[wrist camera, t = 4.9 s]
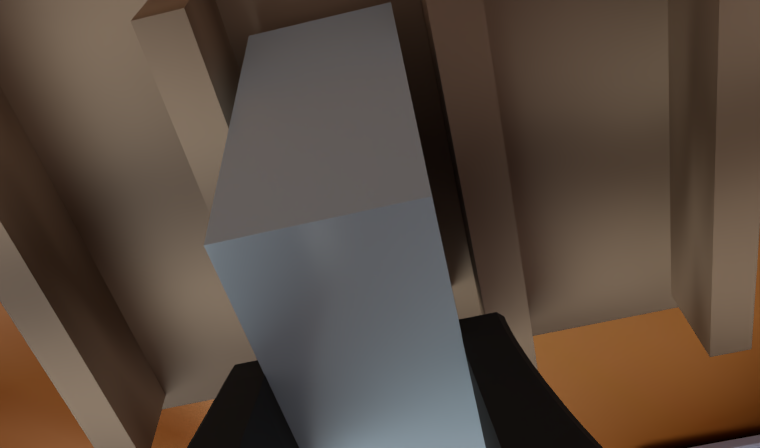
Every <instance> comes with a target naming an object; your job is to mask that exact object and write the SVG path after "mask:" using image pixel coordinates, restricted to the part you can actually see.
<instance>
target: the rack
mask: <svg viewBox="0 0 760 448" xmlns="http://www.w3.org/2000/svg"><path fill="white" fill-rule="evenodd" d="M389 2H391V5H392V10H393V14H394V19H395V24H396V28H397V33H398V38H399V42H400V47H401V52H402V56H403V61H404V66H405V70H406V75H407V80H408V84H409V89H410V94H411V98H412V103H413V108H414V112H415V117H416V121H417V126H418V131H419V135H420V140H421V145H422V149H423V154H424V159H425V163H426V168H427V173H428V177H429V182H430V187H431V191H432V196H433V201H434V205H435V210H436V215H437V219H438V224H439V229H440V233H441V238H442V243H443V247H444V252H445V256H446V261H447V266H448V270H449V275H450V280H451V284H452V289H453V294H454V298H455V303H456V308H457V313H458V317H459V319H464V318H469V317H474V316H479V315H484V314H489V313H493V312H497V313H499V314H501V315H503V316H504V317H505V319H506V321H507V324H508V326H509V327H510V329H511V331H512V333H513V335H514V336H515V338H516V340H517V341H518V343H519V344H520V346H521V348H522V349H523V351H524V352H525V354H526V355H527V356H528V358H529V359H530V361H531V362H532V364H533V365H534V366H535V368H536V369H537V363H536V356H535V349H534V342H533V336H535V335H540V334H545V333H550V332H555V331H560V330H565V329H570V328H575V327H580V326H585V325H590V324H595V323H600V322H606V321H611V320H616V319H621V318H626V317H631V316H636V315H641V314H646V313H651V312H656V311H661V310H666V309H671V308H676V307H679V308H680V310H681V311H682V313H683V314H684V316H685V318H686V319H687V321H688V322H689V324H690V326H691V327H692V329H693V330H694V332H695V334H696V335H697V337H698V338H699V340H700V342H701V343H702V345H703V346H704V348H705V350H706V351H707V353H708V354H709V356H710V357H712V356H718V355H723V354H728V353H733V352H738V351H744V350H749V349H751V347H752V332H753V317H754V302H755V287H756V273H757V258H758V243H759V228H760V0H0V302H1V303H2V305H3V307H4V308H5V310H6V311H7V313H8V314H9V316H10V317H11V319H12V320H13V322H14V324H15V325H16V327H17V328H18V330H19V331H20V333H21V334H22V336H23V338H24V339H25V341H26V342H27V344H28V345H29V347H30V348H31V350H32V352H33V353H34V355H35V356H36V358H37V359H38V361H39V362H40V364H41V366H42V367H43V369H44V370H45V372H46V373H47V375H48V376H49V378H50V380H51V381H52V383H53V384H54V386H55V387H56V389H57V390H58V392H59V394H60V395H61V397H62V398H63V400H64V401H65V403H66V404H67V406H68V408H69V409H70V411H71V412H72V414H73V415H74V417H75V418H76V420H77V421H78V423H79V425H80V426H81V428H82V429H83V431H84V432H85V434H86V435H87V437H88V439H89V440H90V442H91V443H92V445H93V446H94V448H151V446H152V442H153V439H154V435H155V432H156V428H157V425H158V421H159V417H160V414H161V410H162V409H166V408H171V407H176V406H181V405H186V404H191V403H196V402H201V401H206V400H211V399H215V398H216V396H217V394H218V392H219V391H220V389H221V387H222V385H223V383H224V382H225V380H226V378H227V376H228V375H229V373H230V371H231V370H232V368H233V367H234V365H236V364H241V363H246V362H251V361H256V360H257V358H256V356H255V354H254V351H253V349H252V347H251V345H250V343H249V341H248V339H247V336H246V334H245V332H244V330H243V328H242V326H241V324H240V322H239V319H238V317H237V315H236V313H235V311H234V309H233V307H232V305H231V302H230V300H229V298H228V296H227V294H226V292H225V290H224V288H223V285H222V283H221V281H220V279H219V277H218V275H217V273H216V271H215V268H214V266H213V264H212V262H211V260H210V258H209V256H208V254H207V251H206V249H205V247H204V242H205V237H206V232H207V228H208V223H209V218H210V214H211V209H212V204H213V200H214V195H215V190H216V186H217V181H218V177H219V172H220V167H221V163H222V158H223V153H224V149H225V144H226V139H227V135H228V130H229V125H230V121H231V116H232V111H233V107H234V102H235V97H236V93H237V88H238V83H239V79H240V74H241V69H242V65H243V60H244V56H245V51H246V46H247V42H248V37H249V36H250V35H255V34H259V33H263V32H267V31H271V30H276V29H280V28H284V27H288V26H292V25H297V24H301V23H305V22H309V21H313V20H317V19H322V18H326V17H330V16H334V15H338V14H343V13H347V12H351V11H355V10H359V9H364V8H368V7H372V6H376V5H380V4H385V3H389ZM537 371H538V370H537Z"/></svg>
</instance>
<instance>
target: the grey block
mask: <svg viewBox="0 0 760 448" xmlns="http://www.w3.org/2000/svg"><path fill="white" fill-rule="evenodd" d="M204 247H205V249H206V251H207V254H208V256H209V258H210V260H211V262H212V264H213V266H214V268H215V271H216V273H217V275H218V277H219V279H220V281H221V283H222V285H223V288H224V290H225V292H226V294H227V296H228V298H229V300H230V302H231V305H232V307H233V309H234V311H235V313H236V315H237V317H238V319H239V322H240V324H241V326H242V328H243V330H244V332H245V334H246V336H247V339H248V341H249V343H250V345H251V347H252V349H253V351H254V354H255V356H256V358H257V360H258V362H259V364H260V366H261V368H262V371H263V373H264V374H265V376H266V378H267V380H268V382H269V385H270V387H271V389H272V391H273V393H274V395H275V397H276V400H277V402H278V404H279V406H280V408H281V410H282V412H283V414H284V417H285V419H286V421H287V423H288V425H289V427H290V429H291V431H292V434H293V436H294V438H295V440H296V442H297V444H298V446H299V448H486V447H485V442H484V437H483V433H482V428H481V424H480V419H479V414H478V410H477V405H476V400H475V396H474V391H473V387H472V382H471V377H470V373H469V368H468V363H467V359H466V354H465V349H464V345H463V340H462V334H461V329H460V324H459V317H458V313H457V308H456V303H455V298H454V294H453V289H452V284H451V280H450V275H449V270H448V266H447V261H446V256H445V252H444V247H443V243H442V238H441V233H440V229H439V224H438V219H437V215H436V210H435V205H434V201H433V196H432V191H431V187H430V182H429V177H428V173H427V168H426V163H425V159H424V154H423V149H422V145H421V140H420V135H419V131H418V126H417V121H416V117H415V112H414V108H413V103H412V98H411V94H410V89H409V84H408V80H407V75H406V70H405V66H404V61H403V56H402V52H401V47H400V42H399V38H398V33H397V28H396V24H395V19H394V14H393V10H392V5H391V2H389V3H385V4H380V5H376V6H372V7H368V8H364V9H359V10H355V11H351V12H347V13H343V14H338V15H334V16H330V17H326V18H322V19H317V20H313V21H309V22H305V23H301V24H297V25H292V26H288V27H284V28H280V29H276V30H271V31H267V32H263V33H259V34H255V35H250V36H249V37H248V42H247V46H246V51H245V56H244V60H243V65H242V69H241V74H240V79H239V83H238V88H237V93H236V97H235V102H234V107H233V111H232V116H231V121H230V125H229V130H228V135H227V139H226V144H225V149H224V153H223V158H222V163H221V167H220V172H219V177H218V181H217V186H216V190H215V195H214V200H213V204H212V209H211V214H210V218H209V223H208V228H207V232H206V237H205V242H204Z"/></svg>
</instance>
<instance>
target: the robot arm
mask: <svg viewBox="0 0 760 448" xmlns="http://www.w3.org/2000/svg"><path fill="white" fill-rule="evenodd" d="M459 324H460V329H461V334H462V340H463V345H464V349H465V354H466V359H467V363H468V368H469V373H470V377H471V382H472V387H473V391H474V396H475V400H476V405H477V410H478V414H479V419H480V424H481V428H482V433H483V437H484V442H485V447H486V448H602V446H601V445H600V444H599V443H598V442H597V441H596V440H595V439H594V438H593V437H592V436H591V435H590V433H589V432H588V431H587V430H586V429H585V428H584V427H583V426H582V425H581V424H580V422H579V421H578V420H577V419H576V418H575V417H574V416H573V414H572V413H571V412H570V411H569V410H568V409H567V407H566V406H565V405H564V404H563V402H562V401H561V400H560V399H559V397H558V396H557V395H556V394H555V392H554V391H553V390H552V389H551V388H550V386H549V385H548V384H547V383H546V381H545V380H544V379H543V377H542V376H541V375H540V373H539V372H538V371H537V369H536V368H535V366H534V365H533V364H532V362H531V361H530V359H529V358H528V356H527V355H526V354H525V352H524V351H523V349H522V348H521V346H520V344H519V343H518V341H517V340H516V338H515V336H514V335H513V333H512V331H511V329H510V327H509V326H508V324H507V321H506V319H505V317H504V316H503V315H501V314H499V313H497V312H493V313H489V314H484V315H479V316H474V317H469V318H464V319H459ZM187 448H299V446H298V444H297V442H296V440H295V438H294V436H293V434H292V431H291V429H290V427H289V425H288V423H287V421H286V419H285V417H284V414H283V412H282V410H281V408H280V406H279V404H278V402H277V400H276V397H275V395H274V393H273V391H272V389H271V387H270V385H269V382H268V380H267V378H266V376H265V374H264V373H263V371H262V368H261V366H260V364H259V362H258V360H256V361H251V362H246V363H241V364H236V365H234V367H233V368H232V370H231V371H230V373H229V375H228V376H227V378H226V380H225V382H224V383H223V385H222V387H221V389H220V391H219V392H218V394H217V396H216V398H215V400H214V401H213V403H212V405H211V407H210V409H209V410H208V412H207V414H206V416H205V417H204V419H203V421H202V423H201V424H200V426H199V428H198V430H197V431H196V433H195V435H194V437H193V438H192V440H191V442H190V443H189V445H188V447H187ZM689 448H760V435H755V436H750V437H744V438H739V439H733V440H728V441H722V442H717V443H711V444H706V445H700V446H695V447H689Z"/></svg>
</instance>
